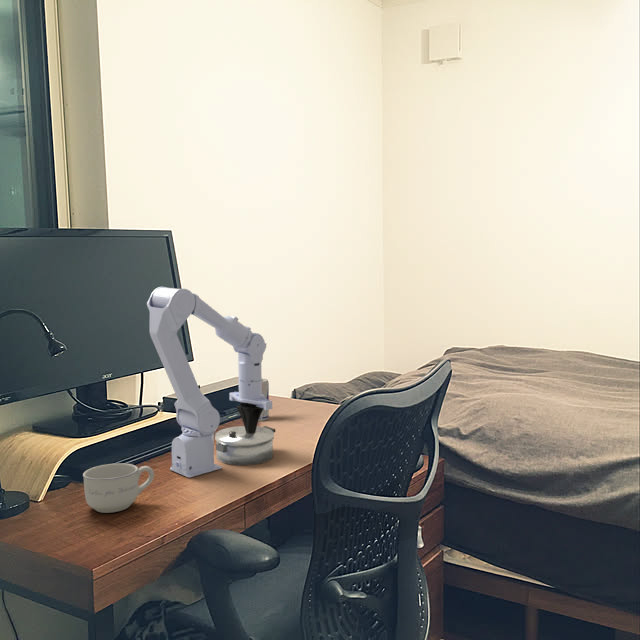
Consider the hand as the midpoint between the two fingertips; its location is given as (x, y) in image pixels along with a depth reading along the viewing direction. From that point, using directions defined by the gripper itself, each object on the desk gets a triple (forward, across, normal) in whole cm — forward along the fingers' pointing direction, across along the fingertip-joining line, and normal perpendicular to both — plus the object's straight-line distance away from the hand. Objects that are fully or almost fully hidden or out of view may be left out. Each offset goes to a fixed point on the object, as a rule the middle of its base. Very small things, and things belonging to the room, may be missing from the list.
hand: (250, 432), depth 176 cm
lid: (+1, 0, +1) cm, 2 cm away
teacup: (+6, -8, +41) cm, 42 cm away
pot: (+6, 0, +2) cm, 6 cm away
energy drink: (+6, +25, -24) cm, 35 cm away
